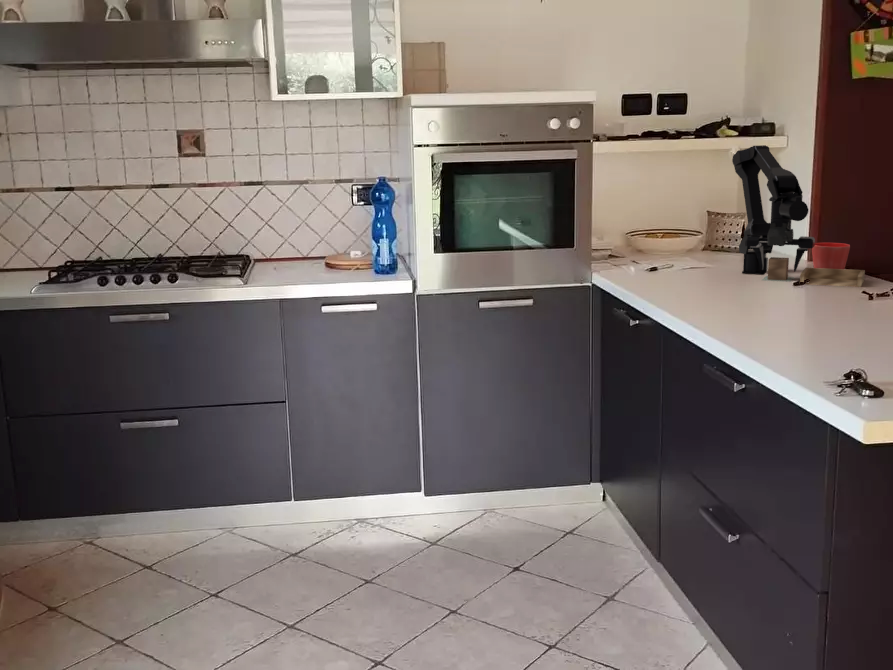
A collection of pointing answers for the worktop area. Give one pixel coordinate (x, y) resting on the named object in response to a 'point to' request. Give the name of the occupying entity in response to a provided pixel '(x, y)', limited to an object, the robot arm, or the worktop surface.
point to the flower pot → (830, 255)
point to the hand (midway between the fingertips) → (778, 270)
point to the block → (778, 268)
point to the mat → (778, 280)
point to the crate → (833, 277)
